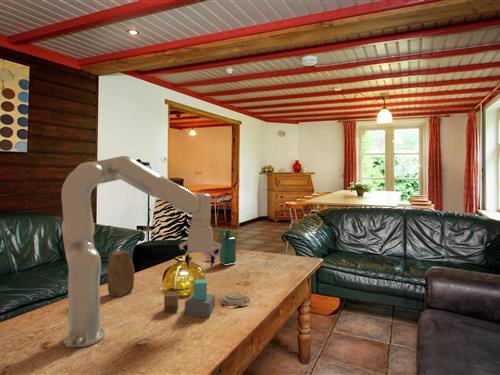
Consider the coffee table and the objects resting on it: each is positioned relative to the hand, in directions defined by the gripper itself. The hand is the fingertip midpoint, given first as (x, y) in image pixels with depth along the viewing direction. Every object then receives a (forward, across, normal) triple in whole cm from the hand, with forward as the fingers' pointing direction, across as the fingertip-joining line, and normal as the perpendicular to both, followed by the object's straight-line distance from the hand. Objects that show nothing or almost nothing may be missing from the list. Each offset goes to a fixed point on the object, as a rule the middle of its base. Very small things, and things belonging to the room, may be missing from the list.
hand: (199, 265), depth 135 cm
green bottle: (+19, +14, +73) cm, 77 cm away
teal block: (+14, 0, 0) cm, 14 cm away
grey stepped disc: (+20, +16, +10) cm, 27 cm away
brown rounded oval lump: (+20, -37, +23) cm, 48 cm away
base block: (+20, +1, 0) cm, 20 cm away
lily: (+19, +4, +83) cm, 85 cm away
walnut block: (+20, -11, +2) cm, 23 cm away
